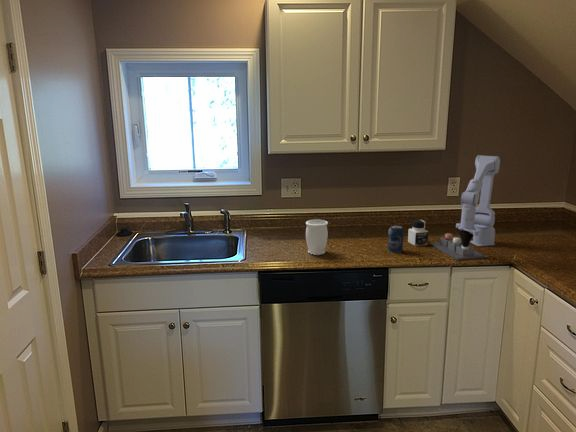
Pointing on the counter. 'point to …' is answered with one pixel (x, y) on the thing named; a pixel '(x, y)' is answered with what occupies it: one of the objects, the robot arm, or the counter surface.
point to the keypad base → (456, 250)
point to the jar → (316, 236)
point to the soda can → (395, 239)
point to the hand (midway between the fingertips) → (465, 246)
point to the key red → (448, 236)
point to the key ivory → (456, 240)
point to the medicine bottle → (418, 233)
